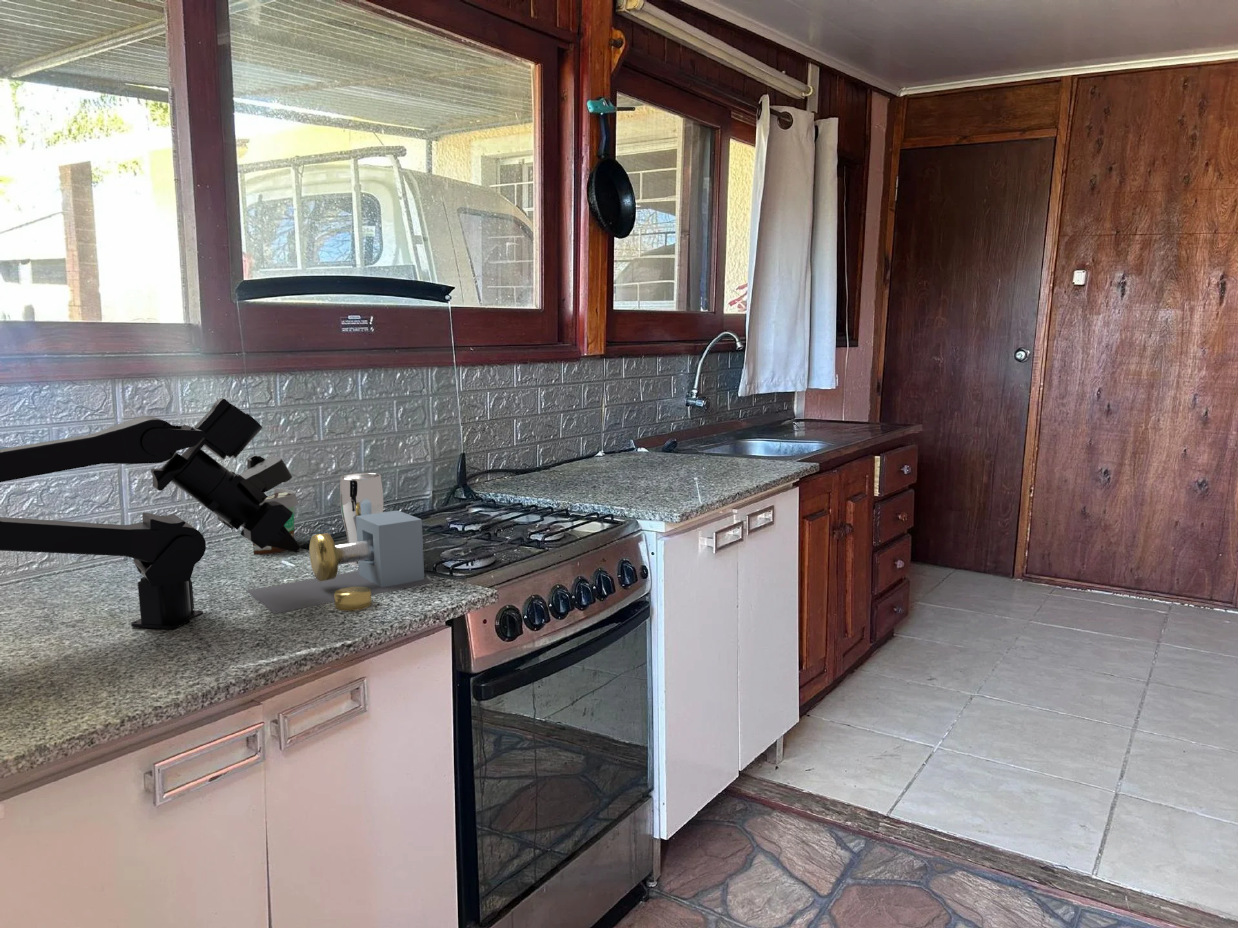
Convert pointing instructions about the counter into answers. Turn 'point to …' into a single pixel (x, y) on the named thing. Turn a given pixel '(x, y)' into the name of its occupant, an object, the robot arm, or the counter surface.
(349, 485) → the beer glass
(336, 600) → the gold domed disc
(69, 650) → the counter surface
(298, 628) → the counter surface
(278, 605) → the mat
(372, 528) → the bearing block
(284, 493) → the food container
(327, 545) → the shaft
